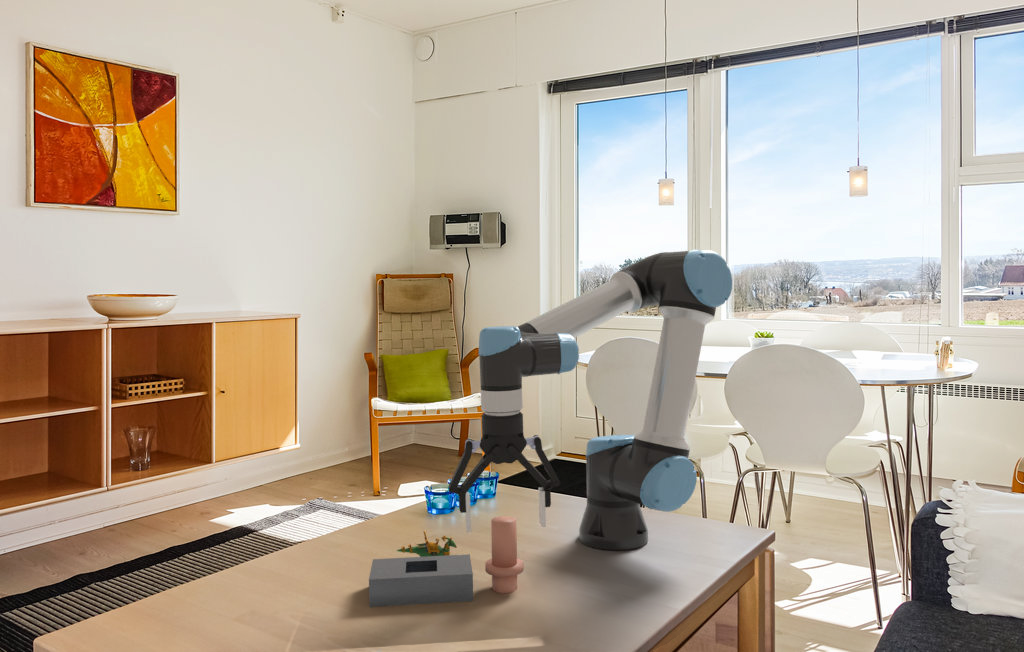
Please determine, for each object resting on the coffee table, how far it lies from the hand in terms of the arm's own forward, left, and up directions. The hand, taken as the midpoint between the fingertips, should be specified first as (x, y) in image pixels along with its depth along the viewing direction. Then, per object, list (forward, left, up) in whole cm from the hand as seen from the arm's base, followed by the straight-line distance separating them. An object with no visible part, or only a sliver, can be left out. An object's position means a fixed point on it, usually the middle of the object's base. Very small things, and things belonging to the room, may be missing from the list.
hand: (505, 527), depth 140 cm
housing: (+15, 0, -12) cm, 20 cm away
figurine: (+15, -13, -13) cm, 23 cm away
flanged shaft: (0, 0, -13) cm, 13 cm away
